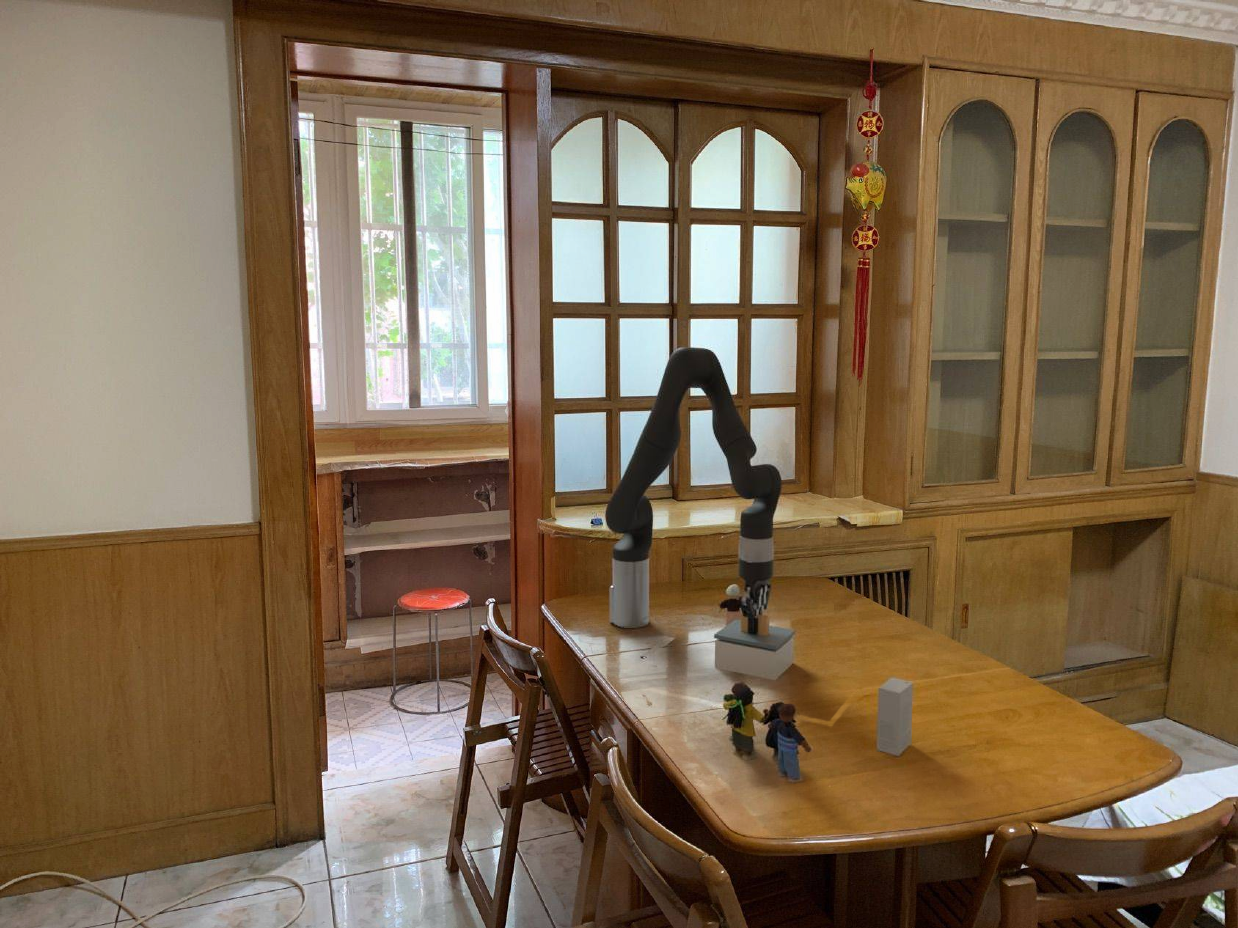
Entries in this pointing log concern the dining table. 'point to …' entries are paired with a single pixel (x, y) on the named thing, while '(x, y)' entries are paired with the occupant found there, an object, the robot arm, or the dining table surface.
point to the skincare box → (894, 716)
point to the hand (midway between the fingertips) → (754, 631)
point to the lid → (763, 639)
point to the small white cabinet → (754, 658)
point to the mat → (657, 647)
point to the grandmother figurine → (731, 604)
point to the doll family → (778, 736)
